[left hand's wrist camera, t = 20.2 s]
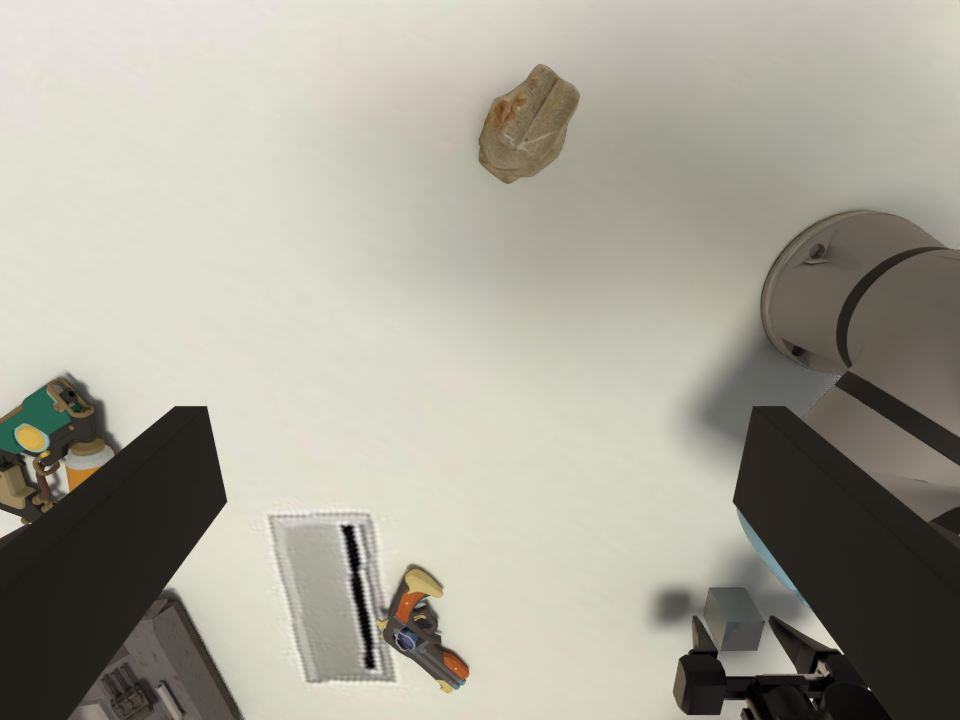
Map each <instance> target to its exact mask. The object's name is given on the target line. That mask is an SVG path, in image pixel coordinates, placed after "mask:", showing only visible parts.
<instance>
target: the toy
mask: <svg viewBox="0 0 960 720" xmlns="http://www.w3.org/2000/svg"><path fill="white" fill-rule="evenodd" d="M68 720H239V713H238V711H237V709H236V707H235V705H234V703H233V701H232V700H231V698H230V696H229V694H228V692H227V690H226V688H225V687H224V685H223V683H222V681H221V679H220V677H219V675H218V674H217V672H216V670H215V668H214V666H213V664H212V662H211V661H210V659H209V657H208V655H207V653H206V651H205V649H204V648H203V646H202V644H201V642H200V640H199V638H198V636H197V635H196V633H195V631H194V629H193V627H192V625H191V623H190V622H189V620H188V618H187V616H186V614H185V612H184V610H183V609H182V607H181V605H180V603H179V601H172V602H167V599H162V600H155V601H154V602H153V604H152V605H151V607H150V608H149V609H148V611H147V612H146V613H145V615H144V616H143V617H142V619H141V620H140V622H139V623H138V624H137V626H136V627H135V628H134V630H133V631H132V632H131V634H130V635H129V637H128V638H127V639H126V641H125V642H124V643H123V645H122V646H121V647H120V649H119V650H118V652H117V653H116V654H115V656H114V657H113V658H112V660H111V661H110V662H109V664H108V665H107V667H106V668H105V669H104V671H103V672H102V673H101V675H100V676H99V677H98V679H97V680H96V682H95V683H94V684H93V686H92V687H91V688H90V690H89V691H88V693H87V694H86V695H85V697H84V698H83V699H82V701H81V702H80V703H79V705H78V706H77V708H76V709H75V710H74V712H73V713H72V714H71V716H70V717H69V718H68Z"/></svg>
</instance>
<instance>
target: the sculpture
mask: <svg viewBox="0 0 960 720" xmlns="http://www.w3.org/2000/svg"><path fill="white" fill-rule="evenodd" d="M579 98H580V95H579V92H578V91H577V89H576V88H575V87H574V86H573V85H572V84H570V83H568V82H566V81H564V80H563V79H561V78H560V77H559V76H558V75H557V74H556V73H555V72H553V71H552V70H551V69H550V68H548V67H547V66H545V65H542V64H538V65H537V66H536V67H535V68H534V69H533V70H532V72H531V73H530V75H529V76H528V78H527V79H526V80H525V81H524V82H523V83H522V84H520V85H519V86H518V87H516V88H515V89H514V90H512V91H511V92H509V93H508V94H506V95H504V96H502V97H498V98H496V99H494V101H493V103H492V106H491V109H490V111H489V114H488V116H487V118H486V120H485V123H484V127H483V130H482V133H481V136H480V138H479V145H480V153H479V162H480V163H481V165H483V166H484V167H485V168H486V169H487V170H488V171H489V172H491V173H492V174H493V175H495V176H496V177H497V178H499V179H500V180H502V181H503V182H505V183H507V184H510V183H512V182H514V181H515V180H517V179H518V178H520V177H531V176H534V175H535V174H537V173H538V172H539V171H541V170H542V169H543V168H544V167H546V166H547V165H548V164H550V163H551V162H552V161H553V160H554V159H555V158H557V156H558V155H559V153H560V151H561V149H562V146H563V144H564V141H565V136H566V130H567V124H568V122H569V120H570V119H571V117H572V115H573V114H574V112H575V110H576V108H577V105H578V102H579Z"/></svg>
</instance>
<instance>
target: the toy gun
mask: <svg viewBox="0 0 960 720" xmlns="http://www.w3.org/2000/svg"><path fill="white" fill-rule="evenodd" d="M442 595H443V591H442V589H441V588H440V587H439V586H438V584H437V583H436V582H435V581H434V580H433V579H432V578H431V577H429V576H428V575H427V574H426V573H424V572H422V571H420V570H418V569H414V570H410V571H409V572H408V573H407V574H406V575H405V579H404V581H403V582H402V584H401V586H400V587H399V590H398V592H397V594H396V597H395V600H394V602H393V603H392V604H391V605H390V609H389V618H388V619H385V620H383V621H381V620H379V619H377V618H376V623H377V625H378V626H379V628H380V630H381V629H382V628H384V631H383V634H381V635H380V637H381V638H383V639H384V640H385V641H386V642H387V643H388V644H390V645H391V646H392V647H393V648H395V649H396V650H397V651H398V652H400V653H401V654H403V655H405V656H407V657H409V658H411V659H412V660H414V661H415V662H416V663H417V664H419V665H420V666H421V667H422V668H423V669H424V670H425V671H427V672H428V673H429V674H430V675H431V676H432V677H433V678H434V679H435V680H436V681H437V682H438V683H440V686H442V687H441V688H440V689H441V690H442V691H444V692H446V693H450V692H452V691H453V690H454V689H455V690H458V689H459V688H460V685H464V684H465V682H466V678H467V677H468V676H469V669H468V668H467V667H466V666H465V665H464V664H463V663H462V662H461V661H459V660H458V659H457V658H456V657H455V656H454V655H452V654H449V653H446V652H442V651H441V650H440V649H438V648H437V647H436V646H435V645H434V644H441V636H440V635H437V634H435V633H433V632H434V631H436V629H437V628H438V621H437V619H435V618H434V617H433V616H432V614H431V613H430V611H429V609H428V607H427V606H426V605H424V606H422V607H420V608H417V609H414V607H415V606H416V604H417V603H418V602H419V601H420V600H422V599H423V598H426V597H428V596H434V597H437V598H440V597H441V596H442ZM422 613H424V614H422ZM425 616H426V618H427V620H428V621H429V622H430V624H428V625H423V624H422V623H420V622H419V621H418V620H417V619H419V618H424V619H425ZM406 626H407V627H408V628H405V627H406ZM394 634H396V635H397V636H396V637H395V635H394ZM397 637H398V639H399V640H398V639H397Z"/></svg>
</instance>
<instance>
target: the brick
mask: <svg viewBox="0 0 960 720" xmlns="http://www.w3.org/2000/svg"><path fill="white" fill-rule="evenodd" d="M704 618H705V620H706V622H707V624H708V626H709V628H710V630H711V632H712V634H713V636H714V638H715V640H716V642H717V644H718V646H719V648H720V650H721V651H757V649H758V646H759V642H760V638H761V634H762V630H763V627H764V623H765V621H764V619H763V618H762V616H761V615H760V613H759V611H758V610H757V608H756V606H755V605H754V603H753V601H752V600H751V598H750V597H749V595H748V593H747V592H746V590H745V588H709V593H708V598H707V603H706V607H705V612H704Z"/></svg>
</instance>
